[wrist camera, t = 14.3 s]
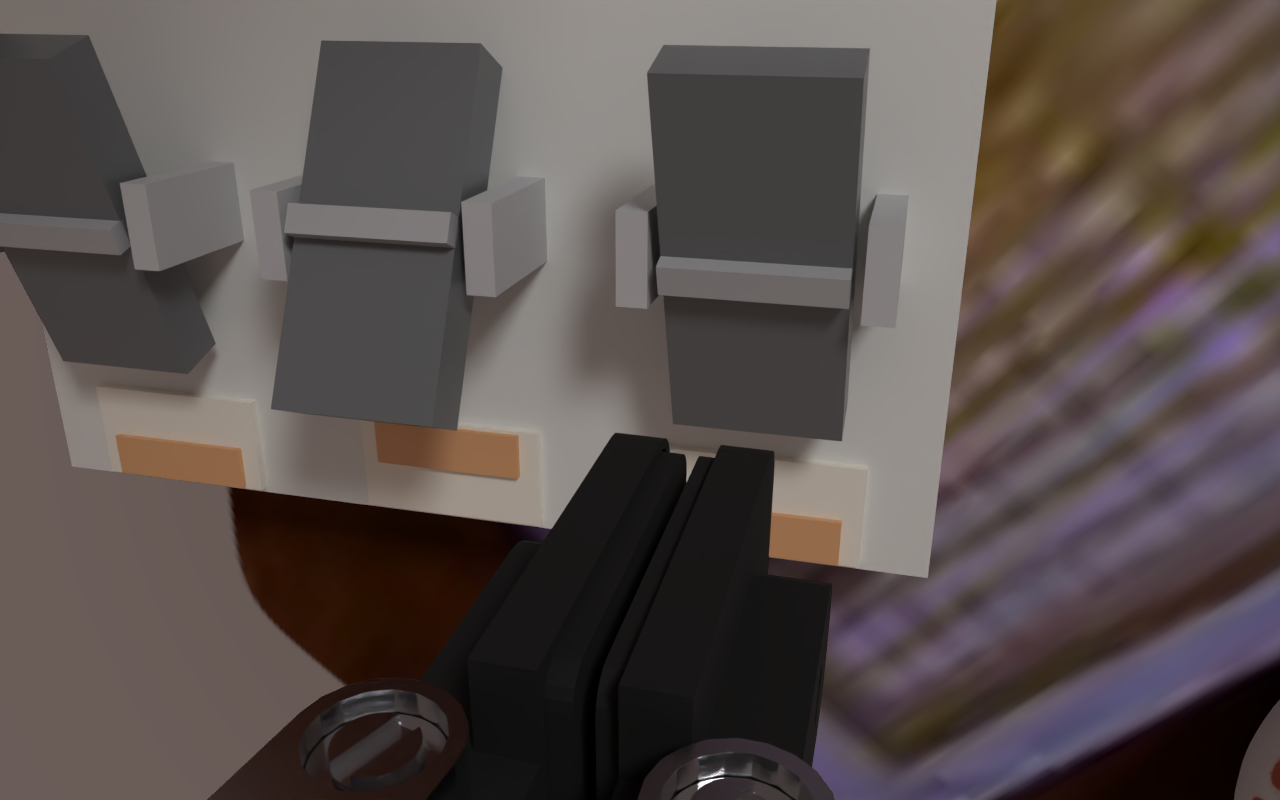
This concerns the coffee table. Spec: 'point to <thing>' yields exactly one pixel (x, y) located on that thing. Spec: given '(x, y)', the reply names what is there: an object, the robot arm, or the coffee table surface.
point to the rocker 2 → (386, 232)
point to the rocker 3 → (758, 231)
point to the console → (527, 256)
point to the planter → (1262, 762)
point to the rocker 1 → (83, 214)
